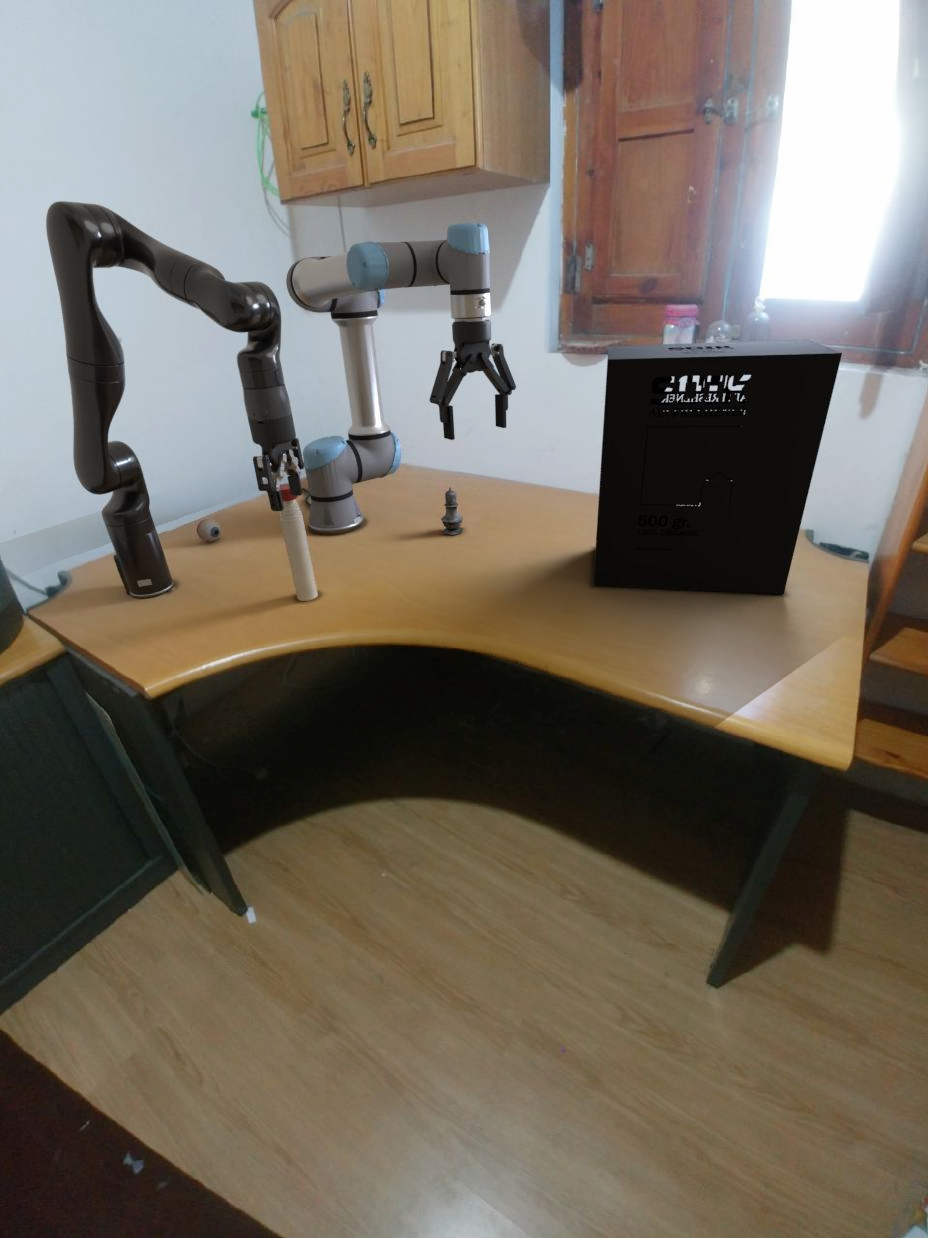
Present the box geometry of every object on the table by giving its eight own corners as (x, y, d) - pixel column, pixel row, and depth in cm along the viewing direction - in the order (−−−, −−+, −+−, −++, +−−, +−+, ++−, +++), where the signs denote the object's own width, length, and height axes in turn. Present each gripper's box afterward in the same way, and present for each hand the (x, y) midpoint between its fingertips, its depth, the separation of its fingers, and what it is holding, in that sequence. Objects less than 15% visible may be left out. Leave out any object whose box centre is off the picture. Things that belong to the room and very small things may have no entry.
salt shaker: (461, 535, 158) (459, 491, 152) (439, 534, 159) (436, 490, 153) (465, 527, 163) (463, 483, 157) (444, 526, 164) (441, 483, 158)
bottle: (307, 589, 135) (286, 483, 123) (322, 594, 133) (301, 486, 121) (292, 598, 132) (269, 490, 120) (307, 602, 130) (284, 493, 118)
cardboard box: (762, 553, 139) (808, 339, 116) (783, 594, 122) (842, 352, 99) (595, 547, 147) (608, 345, 124) (593, 585, 129) (608, 359, 107)
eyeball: (210, 546, 160) (204, 525, 157) (195, 542, 163) (189, 521, 160) (228, 538, 164) (223, 518, 161) (213, 535, 167) (208, 514, 164)
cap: (287, 493, 124) (285, 482, 123) (302, 496, 122) (300, 484, 121) (272, 499, 121) (269, 488, 120) (286, 502, 119) (284, 491, 118)
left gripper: (267, 405, 111) (285, 490, 120) (229, 422, 99) (251, 515, 107) (305, 404, 110) (320, 490, 118) (271, 421, 98) (290, 516, 106)
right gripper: (427, 326, 106) (436, 447, 117) (533, 314, 119) (532, 424, 129) (405, 324, 112) (415, 440, 122) (508, 313, 124) (509, 419, 135)
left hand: (287, 502), depth 113 cm, fingers open, 8 cm apart
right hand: (475, 432), depth 126 cm, fingers open, 13 cm apart
